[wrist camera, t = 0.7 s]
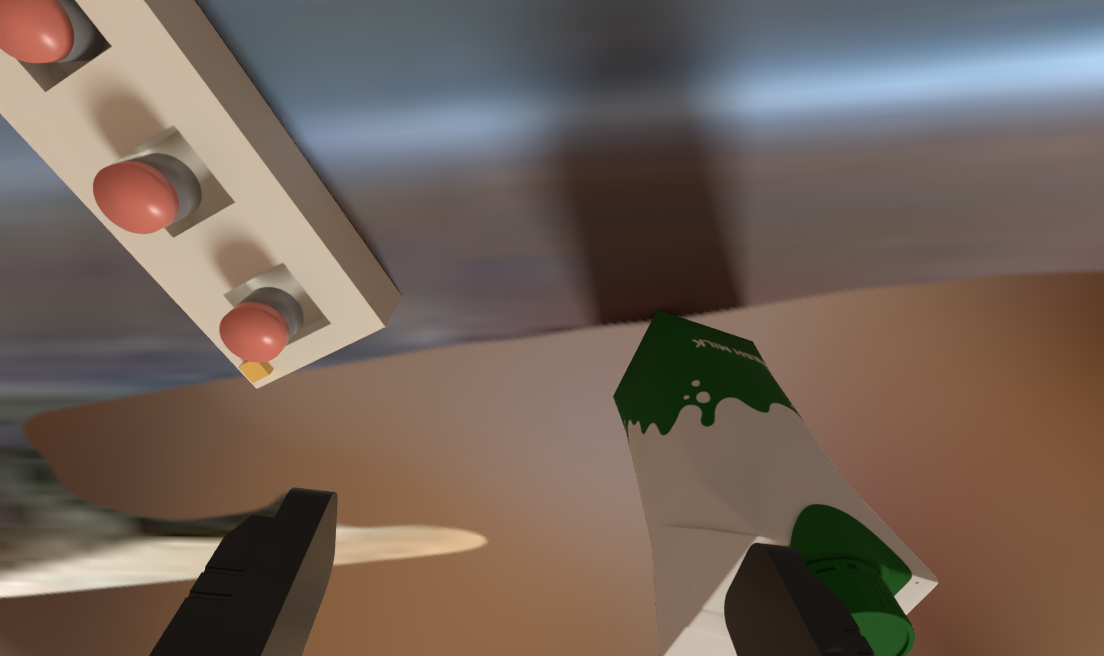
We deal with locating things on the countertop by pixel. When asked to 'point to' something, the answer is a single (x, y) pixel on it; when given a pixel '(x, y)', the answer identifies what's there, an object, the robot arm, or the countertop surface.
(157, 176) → the button
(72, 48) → the button
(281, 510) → the robot arm
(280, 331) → the button
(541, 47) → the countertop surface
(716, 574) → the milk carton
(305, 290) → the button panel
